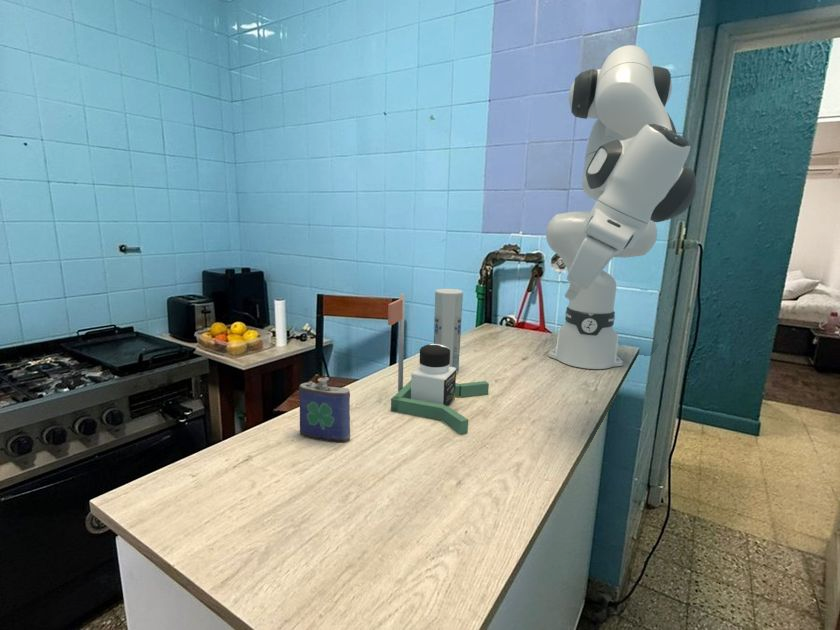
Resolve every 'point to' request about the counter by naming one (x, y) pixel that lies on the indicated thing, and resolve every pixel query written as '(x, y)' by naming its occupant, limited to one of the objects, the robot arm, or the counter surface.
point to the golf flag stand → (422, 408)
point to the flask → (324, 411)
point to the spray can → (448, 322)
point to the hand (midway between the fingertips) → (569, 297)
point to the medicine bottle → (434, 376)
